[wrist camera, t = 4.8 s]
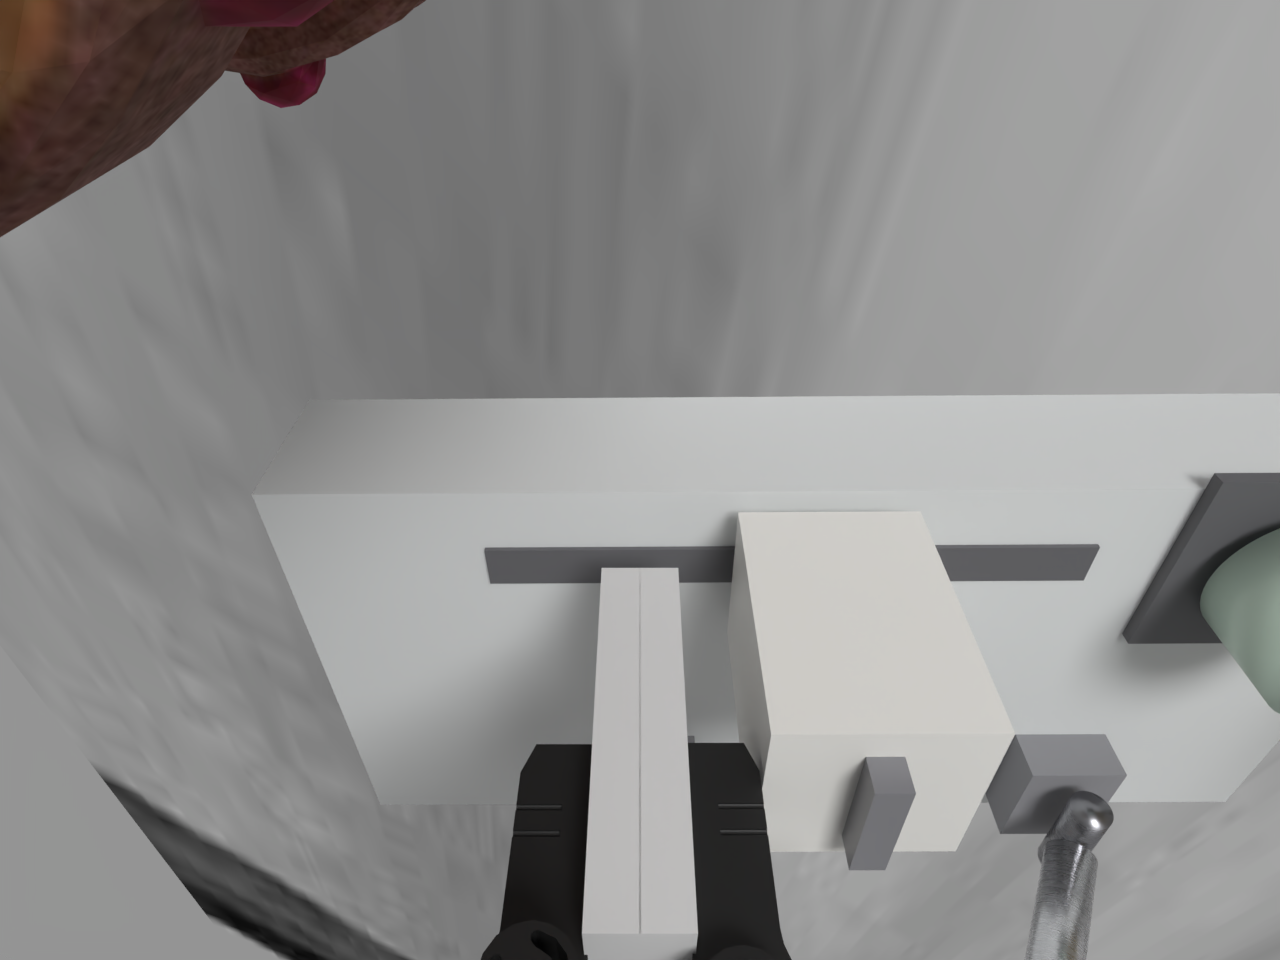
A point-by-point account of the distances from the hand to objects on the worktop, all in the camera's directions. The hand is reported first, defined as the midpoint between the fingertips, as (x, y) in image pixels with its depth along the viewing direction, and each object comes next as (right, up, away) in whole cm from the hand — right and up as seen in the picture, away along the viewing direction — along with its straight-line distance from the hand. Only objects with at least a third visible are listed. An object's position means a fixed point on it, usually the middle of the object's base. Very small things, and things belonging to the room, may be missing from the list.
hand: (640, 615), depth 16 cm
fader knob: (+4, +1, +1) cm, 4 cm away
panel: (+5, 0, +6) cm, 8 cm away
